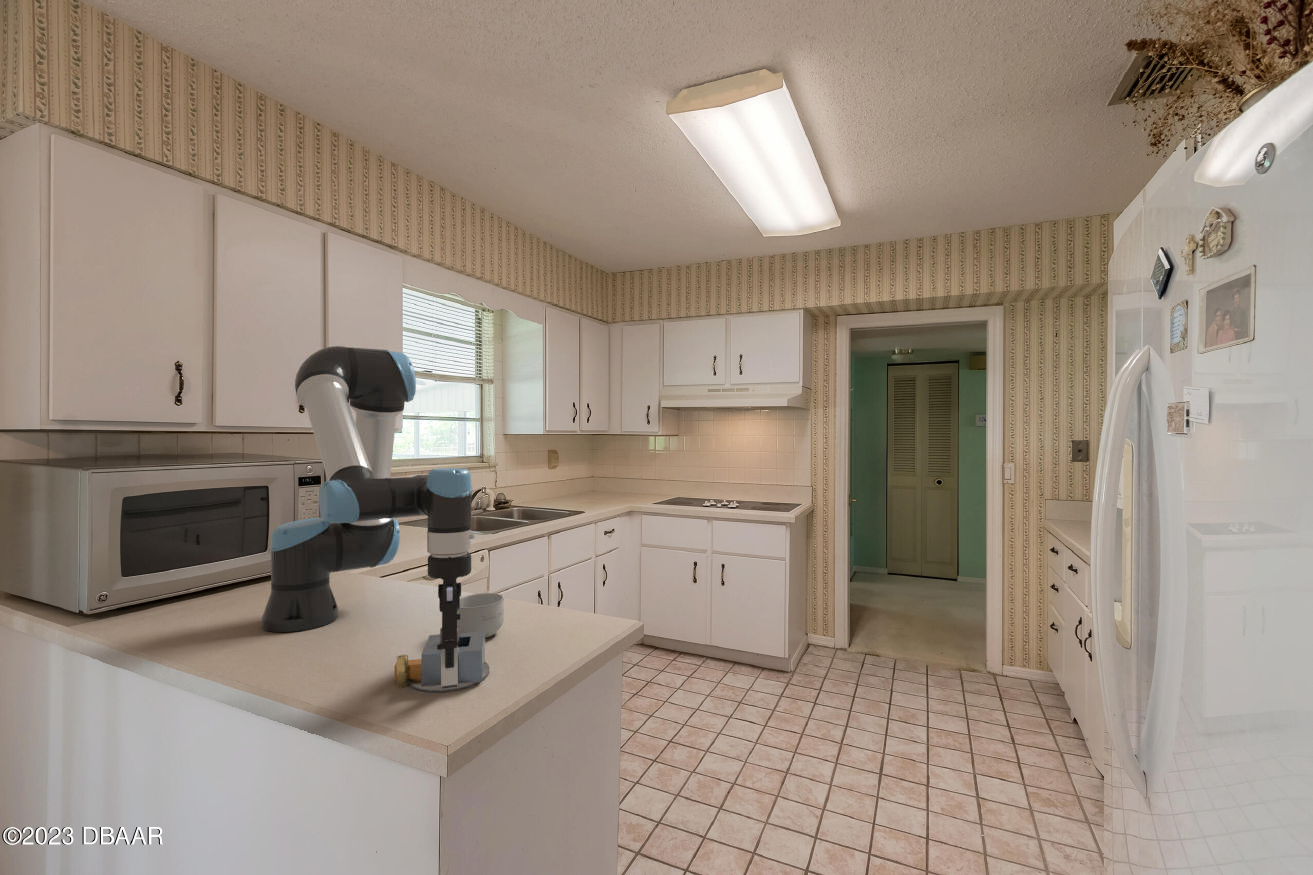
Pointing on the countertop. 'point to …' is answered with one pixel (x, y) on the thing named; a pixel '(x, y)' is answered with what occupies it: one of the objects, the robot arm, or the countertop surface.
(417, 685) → the rod on disc base
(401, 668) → the dowel pin
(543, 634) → the countertop surface
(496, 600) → the teacup
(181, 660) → the countertop surface
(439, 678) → the grey hollow block
